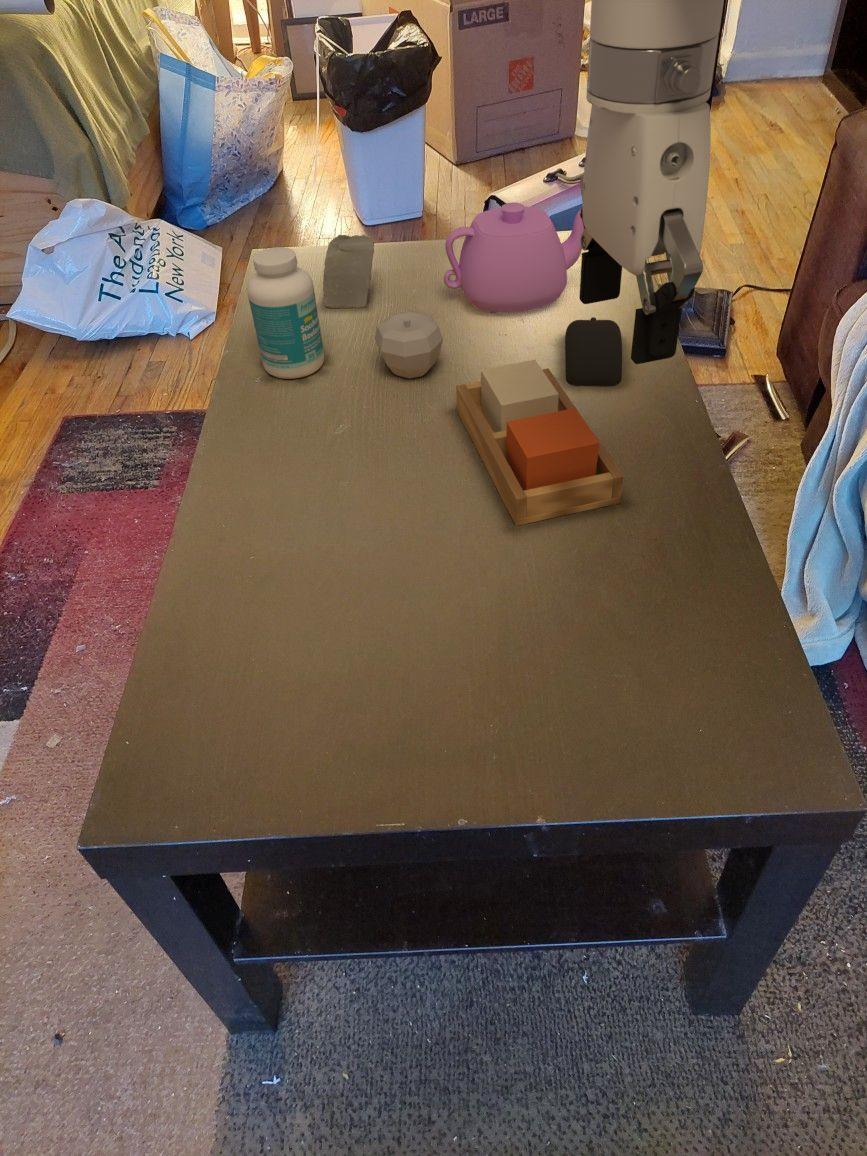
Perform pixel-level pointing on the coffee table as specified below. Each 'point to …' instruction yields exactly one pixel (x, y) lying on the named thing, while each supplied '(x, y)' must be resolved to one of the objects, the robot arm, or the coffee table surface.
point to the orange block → (551, 449)
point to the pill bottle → (285, 315)
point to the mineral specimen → (348, 271)
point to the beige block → (516, 393)
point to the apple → (409, 343)
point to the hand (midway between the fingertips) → (624, 327)
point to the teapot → (512, 259)
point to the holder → (542, 499)
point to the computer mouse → (593, 353)
